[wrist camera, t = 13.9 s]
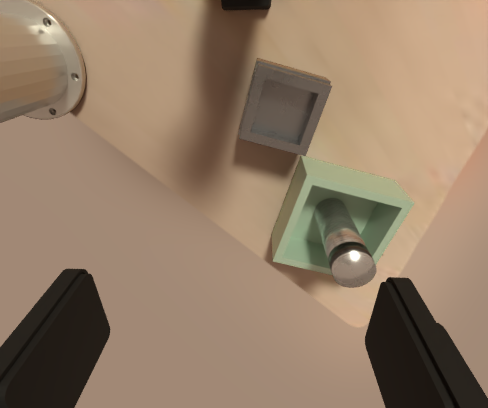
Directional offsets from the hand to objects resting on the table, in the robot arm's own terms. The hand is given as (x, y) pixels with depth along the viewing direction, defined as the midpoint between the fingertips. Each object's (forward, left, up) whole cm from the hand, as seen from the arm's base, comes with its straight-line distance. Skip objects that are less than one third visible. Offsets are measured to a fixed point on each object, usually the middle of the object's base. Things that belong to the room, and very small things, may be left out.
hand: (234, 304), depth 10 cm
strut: (+14, -11, -29) cm, 34 cm away
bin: (+14, -11, -30) cm, 35 cm away
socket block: (+3, +1, -30) cm, 30 cm away
